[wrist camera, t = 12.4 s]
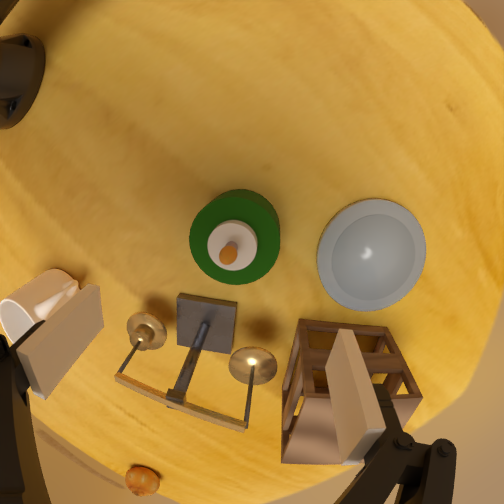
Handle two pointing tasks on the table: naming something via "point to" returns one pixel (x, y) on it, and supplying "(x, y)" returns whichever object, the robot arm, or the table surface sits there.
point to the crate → (318, 399)
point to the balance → (199, 338)
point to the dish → (371, 254)
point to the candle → (236, 237)
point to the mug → (36, 302)
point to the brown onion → (142, 481)
